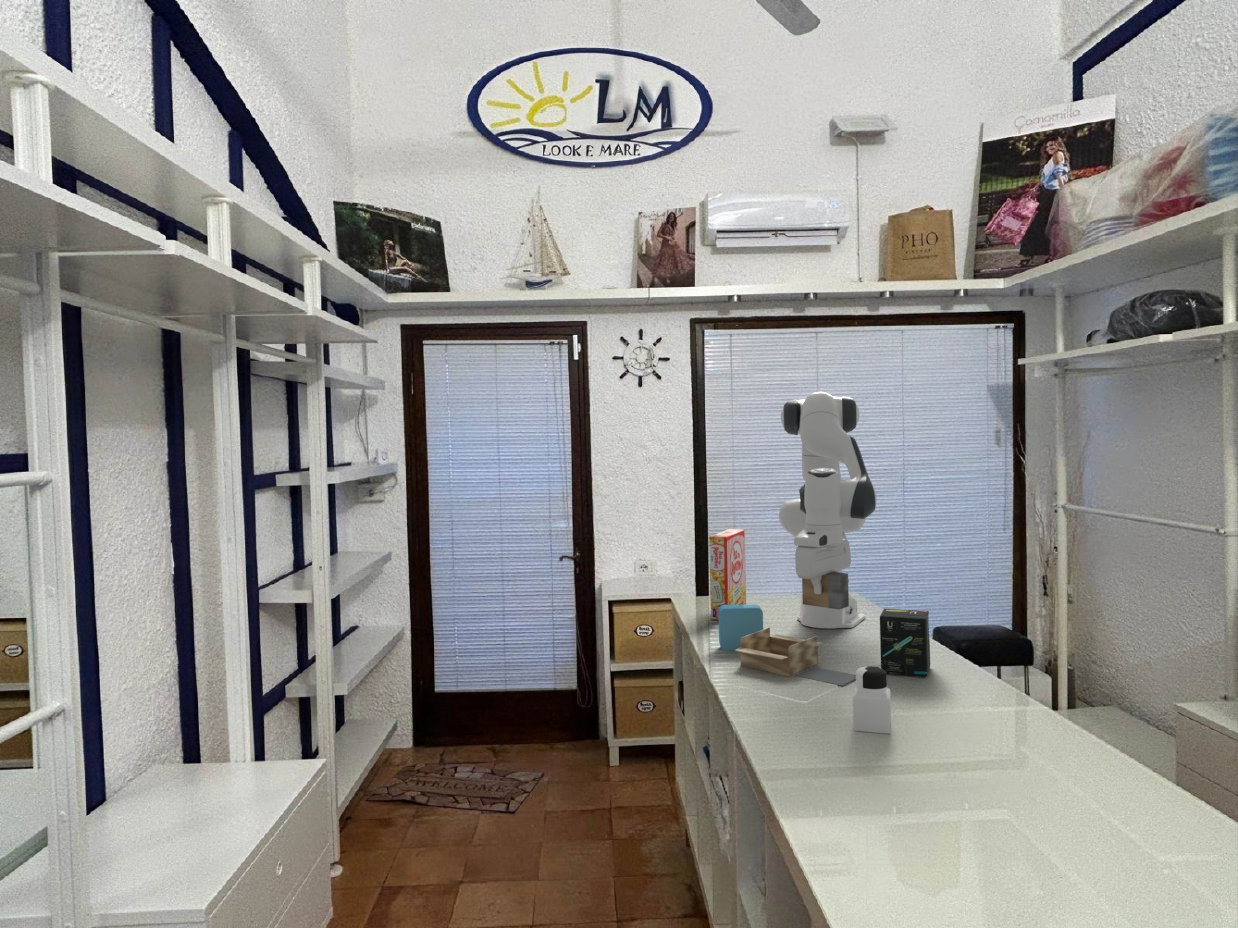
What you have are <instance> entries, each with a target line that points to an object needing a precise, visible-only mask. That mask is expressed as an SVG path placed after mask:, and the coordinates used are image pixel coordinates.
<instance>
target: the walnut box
mask: <svg viewBox="0 0 1238 928" xmlns="http://www.w3.org/2000/svg"><path fill="white" fill-rule="evenodd" d="M848 579H849V573H848V572H842V573H840V572H832V573H829V574H825V575H822V576H821V580H820V582H821V585H822V586H823V588H824V589H823V590H824V592H823V593H821V594H815V593H814V586H813V584H812V582H811V579H804V578H801V581H802V582H801V584H802V585H801V586H802V590H801V591H802V593H801V595H802V594H803V604H804V605H811V606H818V607H825V608H832V609H839V610H840V609H843V608H845V607H848V606H849V594H850V593H849V592H850V591H849V582H848Z"/></svg>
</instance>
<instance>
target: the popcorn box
mask: <svg viewBox="0 0 1238 928" xmlns="http://www.w3.org/2000/svg"><path fill="white" fill-rule="evenodd" d="M745 537H746V535H745V529H743V528H742V529H740V528H739V529H738V528H728V529H726V530H724V531H721V532H718V533H716V534H713V535H710V536H709V537H708V539H709V545H708V546H709V586H710V587H709V589H710V593H709V595H710V619H711V620H716V621H717V620H718V621H719V618H718V609H719V607H720V606H722V605H747V587H746V586H747V585H746V584H747V582H746V580H747V578H746V576H747V575H746V546H745V545H746V544H745V543H746V542H745V541H746V540H745Z"/></svg>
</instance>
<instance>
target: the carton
mask: <svg viewBox="0 0 1238 928" xmlns="http://www.w3.org/2000/svg"><path fill="white" fill-rule="evenodd" d="M820 645H822V642H818V636H817V635H814V636H812V637H810V638H807V639H803V638H797V637H792V636H785V635H780V634H774V635H771V628H770V627H767V628H763V630H761V631H758V632H755V633H752V634H750V635H747V636H744V637H741V647H740V648H739V649H736V650H734V651H735V652H738V653H739V656H740V666H741V667H746V668H748V669H749V668H750V669H755V670H760V671H763V672H768V673H773V674H778V675H781V676H785V677H786V676H787V677H791V676H793V675H795V674H798V673H800V672H802V671H804V670H807V669H809V668H811V667H813V666H815V665H817V664H819V649H818V648H819V647H818V646H820Z"/></svg>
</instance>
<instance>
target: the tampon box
mask: <svg viewBox="0 0 1238 928" xmlns="http://www.w3.org/2000/svg"><path fill="white" fill-rule="evenodd" d="M929 614H930V613H929V610H923V609H921V610H917V609H900V608H898V609H897V608H883V610H882V612H881V613H880V615H879V643H880V645H879V646H880V647H879V648H880V668H881V669H883V670H885V671H886V672H887V676H888V675H889V676H902V677H913V678H914V677H915V678H924V679H926V678H927V677H928V675H929V671H930V667H931V647H930V646H931V643H930V641H931V639H930V625H929V624H930V623H929V619H930V617H929V616H930V615H929Z"/></svg>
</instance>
